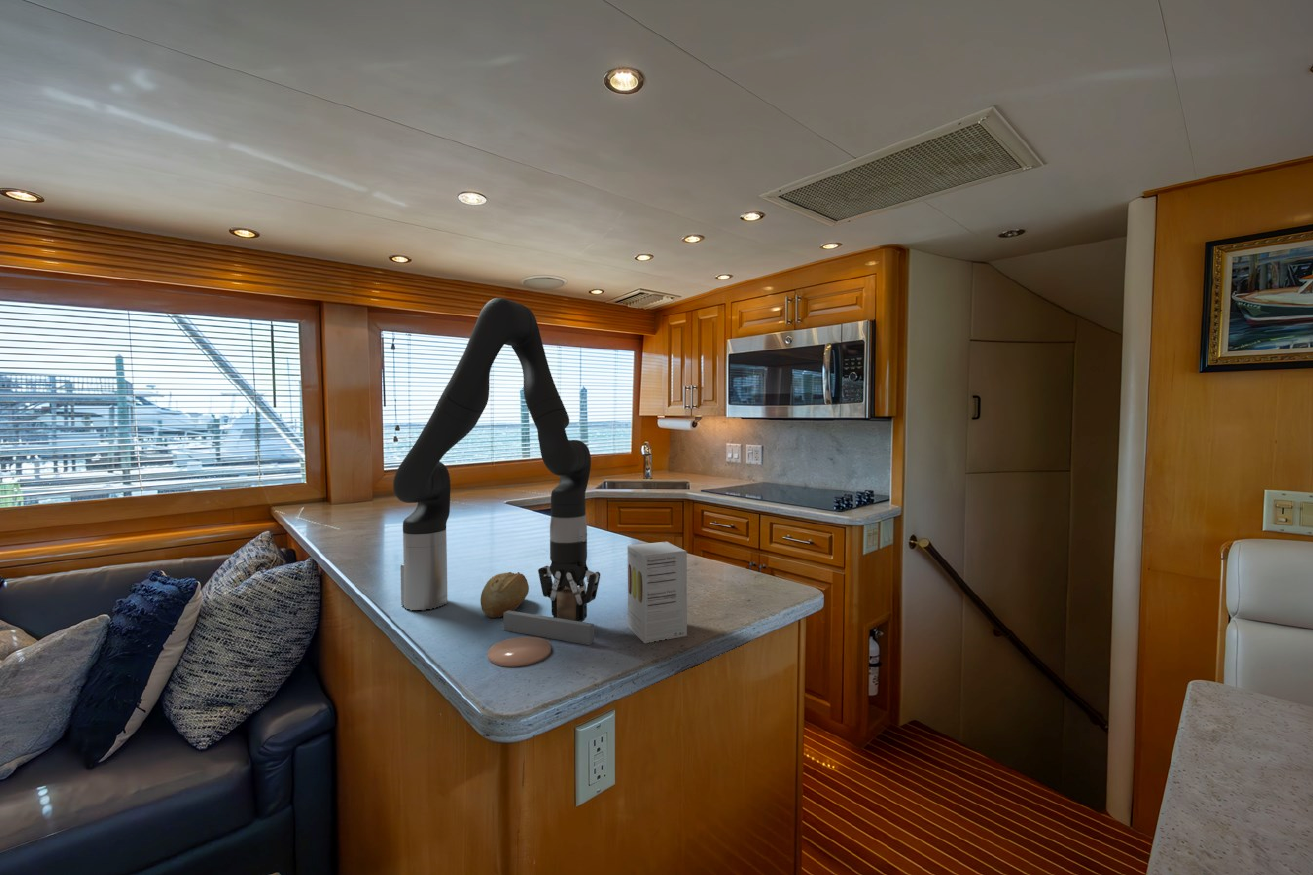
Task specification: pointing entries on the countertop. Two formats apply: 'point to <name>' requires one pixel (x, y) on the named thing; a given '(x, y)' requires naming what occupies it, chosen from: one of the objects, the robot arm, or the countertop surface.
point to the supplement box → (657, 591)
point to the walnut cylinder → (566, 604)
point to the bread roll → (503, 593)
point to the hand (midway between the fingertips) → (569, 619)
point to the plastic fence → (549, 627)
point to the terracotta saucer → (519, 651)
